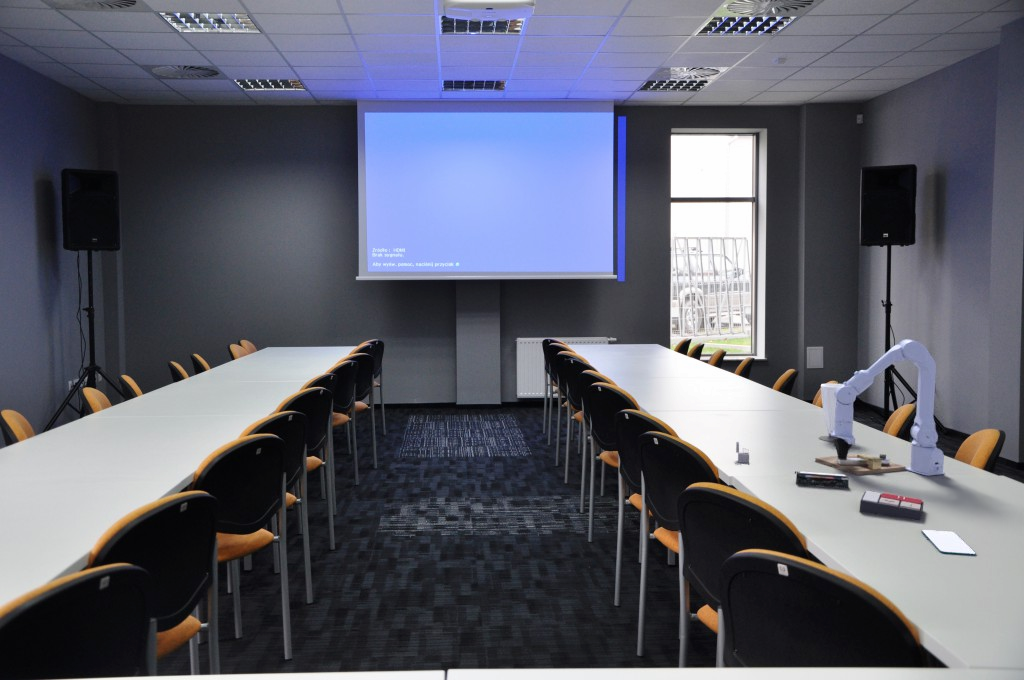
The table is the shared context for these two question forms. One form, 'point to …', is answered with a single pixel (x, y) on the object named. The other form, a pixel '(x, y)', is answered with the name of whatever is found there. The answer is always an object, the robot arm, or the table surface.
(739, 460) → the architectural model
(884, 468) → the base plate
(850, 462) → the grey link
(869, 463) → the wooden block
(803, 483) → the black flat case
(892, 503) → the dark grey box
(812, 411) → the table surface
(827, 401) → the cup
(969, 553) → the smartphone
